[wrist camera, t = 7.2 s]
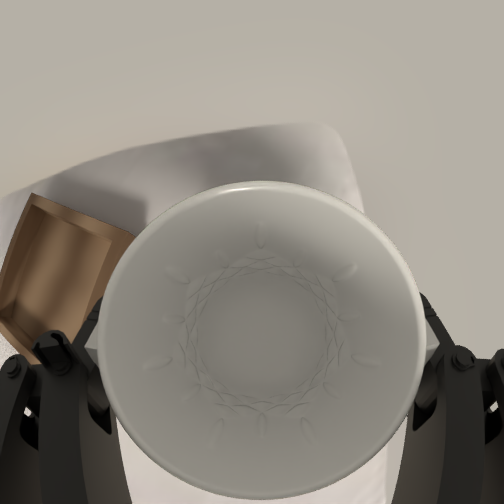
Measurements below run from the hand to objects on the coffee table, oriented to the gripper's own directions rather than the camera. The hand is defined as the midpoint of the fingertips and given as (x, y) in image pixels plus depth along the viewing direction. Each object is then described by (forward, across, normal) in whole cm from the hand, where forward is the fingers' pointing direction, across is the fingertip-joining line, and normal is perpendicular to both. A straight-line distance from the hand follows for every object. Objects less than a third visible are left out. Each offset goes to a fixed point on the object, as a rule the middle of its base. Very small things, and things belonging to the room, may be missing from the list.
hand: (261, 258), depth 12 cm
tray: (+6, -18, -7) cm, 20 cm away
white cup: (+1, 0, -6) cm, 6 cm away
